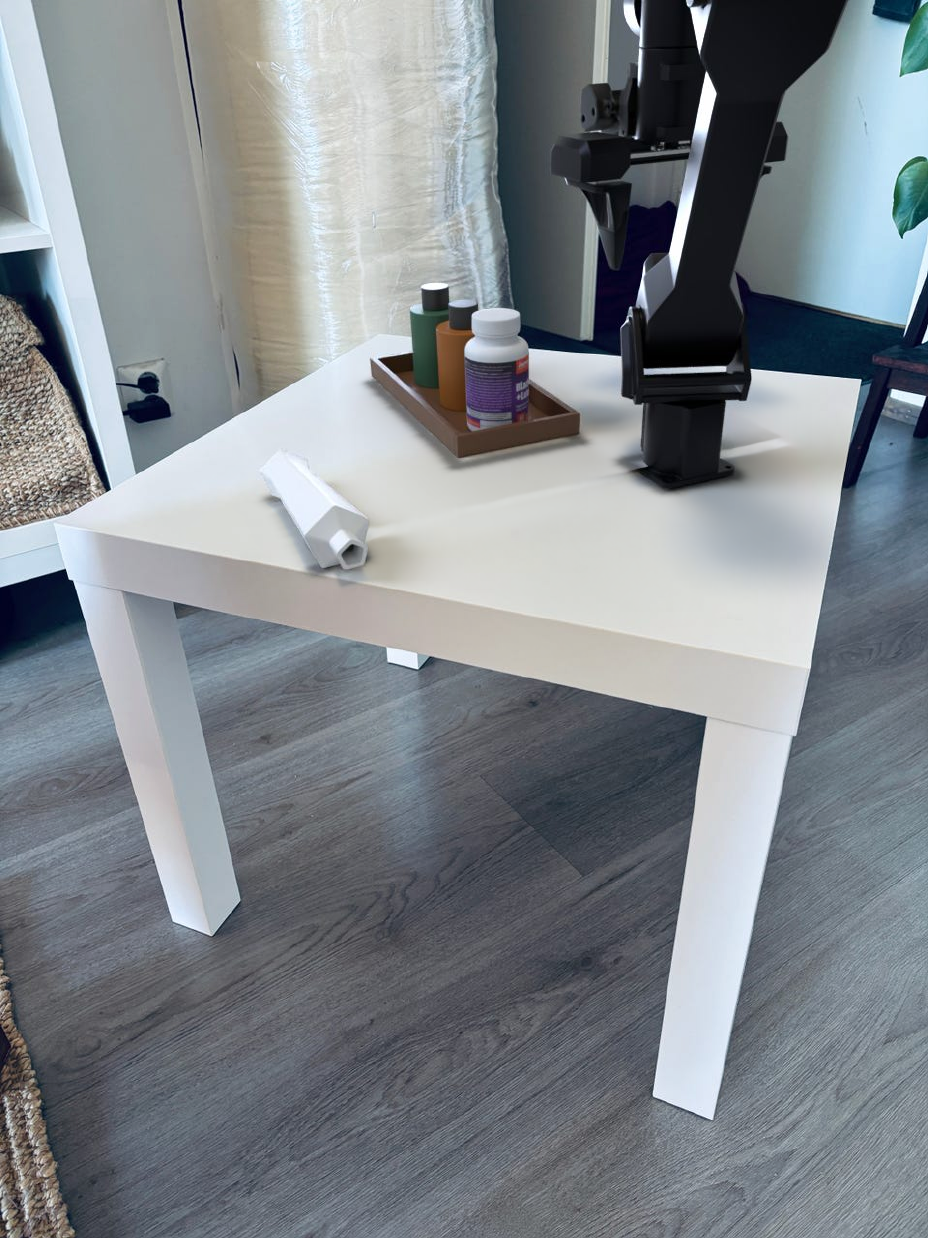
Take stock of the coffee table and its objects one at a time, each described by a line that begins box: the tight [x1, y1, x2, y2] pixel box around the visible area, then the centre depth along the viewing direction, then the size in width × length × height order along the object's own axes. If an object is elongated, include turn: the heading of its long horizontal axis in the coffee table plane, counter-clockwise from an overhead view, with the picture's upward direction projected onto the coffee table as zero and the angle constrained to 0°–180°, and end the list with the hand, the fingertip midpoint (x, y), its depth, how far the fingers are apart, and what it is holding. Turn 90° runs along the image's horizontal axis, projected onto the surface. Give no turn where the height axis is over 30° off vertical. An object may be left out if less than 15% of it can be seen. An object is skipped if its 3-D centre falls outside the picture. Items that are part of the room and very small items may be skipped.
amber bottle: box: [436, 299, 479, 411], centre depth 87 cm, size 5×5×9 cm
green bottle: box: [409, 282, 451, 388], centre depth 92 cm, size 5×5×9 cm
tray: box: [369, 350, 581, 459], centre depth 89 cm, size 23×11×3 cm, turn 22°
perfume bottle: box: [259, 448, 370, 570], centre depth 68 cm, size 5×4×15 cm
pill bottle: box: [465, 307, 530, 431], centre depth 81 cm, size 5×5×10 cm
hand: (662, 262), depth 81 cm, fingers open, 9 cm apart
